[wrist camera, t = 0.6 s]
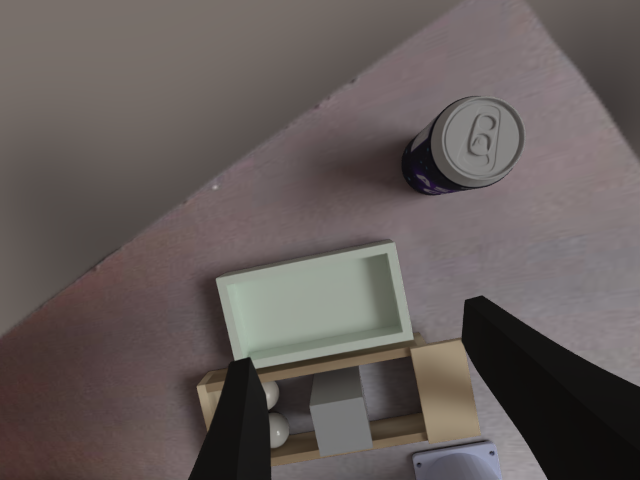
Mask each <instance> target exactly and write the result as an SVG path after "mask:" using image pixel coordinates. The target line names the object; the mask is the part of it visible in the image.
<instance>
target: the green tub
mask: <svg viewBox="0 0 640 480" xmlns="http://www.w3.org/2000/svg"><path fill="white" fill-rule="evenodd" d="M216 282H217V287H218V291H219V295H220V299H221V304H222V308H223V312H224V317H225V321H226V325H227V330H228V334H229V338H230V342H231V347H232V351H233V355H234V360H235V361H236V360H240V359H243V358H247V357H251V360H252V362H253V364H254V367H255V369H257V368H262V367H268V366H273V365H278V364H284V363H289V362H295V361H300V360H305V359H311V358H316V357H322V356H327V355H332V354H338V353H343V352H348V351H354V350H359V349H365V348H370V347H375V346H381V345H386V344H392V343H397V342H402V341H408V340H413V339H414V337H413V332H412V327H411V322H410V317H409V312H408V307H407V302H406V297H405V292H404V287H403V282H402V276H401V271H400V266H399V261H398V256H397V251H396V246H395V242H394V241H392V240H390V239H389V240H384V241H379V242H375V243H370V244H365V245H360V246H355V247H350V248H345V249H340V250H335V251H330V252H326V253H321V254H316V255H311V256H306V257H301V258H296V259H291V260H286V261H281V262H276V263H272V264H267V265H262V266H257V267H252V268H247V269H242V270H237V271H232V272H227V273H225V274H223V275H221V276H219V277H218V278H216Z"/></svg>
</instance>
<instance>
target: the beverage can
mask: <svg viewBox="0 0 640 480" xmlns="http://www.w3.org/2000/svg"><path fill="white" fill-rule="evenodd" d="M525 138H526V136H525V128H524V123H523V121H522V119H521V117H520V115H519V114H518V112H517V111H516V110H515V109H514V107H512V106H511V105H510V104H509V103H507V102H505V101H504V100H501V99H499V98H496V97H490V96H471V97H466V98H462V99H460V100H457V101H455V102H453V103H452V104H450V105H449V106H448V107H446V108H445V109H444V110H443V111H442V112H441V113H440V114H439V115H438V116H437V117H436V118H435V119H434V120H433V121H431V122H430V123H429V124H428V125H427V126H426V127H425V128H424V129H423V130H422V131H421V132H420V133H419V134H418V135H417V136H416V137H415V138H414V139H413V140H412V141H411V142H410V143H409V144H408V145H407V147H406V149H405V151H404V153H403V156H402V172H403V175H404V178H405V179H406V181H407V183H408V184H409V185H410V186H411V187H412V188H413V189H414V190H416V191H418V192H420V193H422V194H425V195H440V194H446V193H453V192H459V191H465V190H471V189H477V188H483V187H487V186H490V185H492V184H494V183H496V182H498V181H499V180H501V179H502V178H504V177H505V176H506V175H507V174H508V173H509V172H510V171H511V169H512V168H513V167H514V165H515V164H516V163H517V161H518V160H519V158H520V156H521V154H522V152H523V149H524V145H525Z"/></svg>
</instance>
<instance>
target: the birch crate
mask: <svg viewBox="0 0 640 480" xmlns="http://www.w3.org/2000/svg"><path fill="white" fill-rule="evenodd" d="M413 337H414V339H413V340H408V341H402V342H397V343H392V344H386V345H381V346H375V347H370V348H365V349H359V350H354V351H348V352H343V353H338V354H332V355H327V356H322V357H316V358H311V359H305V360H300V361H295V362H289V363H284V364H278V365H273V366H268V367H262V368H257V369H256V372H257V374H258V376H259V379H260V381H261V383H265V382H270V381H276V380H281V379H286V378H292V377H297V376H303V375H308V374H314V373H319V372H325V371H330V370H336V369H341V368H347V367H352V366H358V365H363V364H369V363H374V362H380V361H385V360H390V359H396V358H401V357H407V356H411V357H412V362H413V367H414V372H415V377H416V382H417V388H418V393H419V398H420V403H421V408H422V413H416V414H411V415H405V416H399V417H393V418H387V419H382V420H376V421H370V422H369V423H370V429H371V436H372V442H373V448H371V449H365V450H359V451H353V452H347V453H341V454H335V455H329V456H323V457H321V456H320V452H319V447H318V443H317V438H316V434H315V431H312V432H306V433H300V434H295V435H289V436H288V438H287V440H286V441H285V443H284V444H283V445H281V446H279V447H277V448H271V466H277V465H283V464H289V463H295V462H301V461H307V460H313V459H319V458H325V457H331V456H337V455H343V454H349V453H355V452H361V451H367V450H373V449H379V448H385V447H391V446H397V445H403V444H409V443H415V442H421V441H427V440H428V442H429V444H432V443H438V442H444V441H450V440H456V439H462V438H468V437H474V436H480V435H481V433H480V428H479V422H478V417H477V412H476V406H475V401H474V396H473V390H472V385H471V380H470V374H469V369H468V363H467V358H466V353H465V348H464V346H463V344H462V342H461V339H462V338H456V339H450V340H445V341H439V342H434V343H428V344H426V342H425V341H424V339H423V338H422V336H421V335H420V333H419V332H418V333H413ZM227 370H228V368H225V369H220V370H214V371H209V372H208V373H207V374H206V375H205V376H204V378H203V379H202V380H201V381H200V383H199V384H198V385H197V390H198V395H199V399H200V403H201V407H202V411H203V415H204V419H205V424H206V428H207V432H208V430H209V427H210V424H211V421H212V419H213V416H214V413H215V410H216V407H217V404H218V401H219V398H220V395H221V390H222V388H223V385H224V382H225V378H226V374H227Z"/></svg>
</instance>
